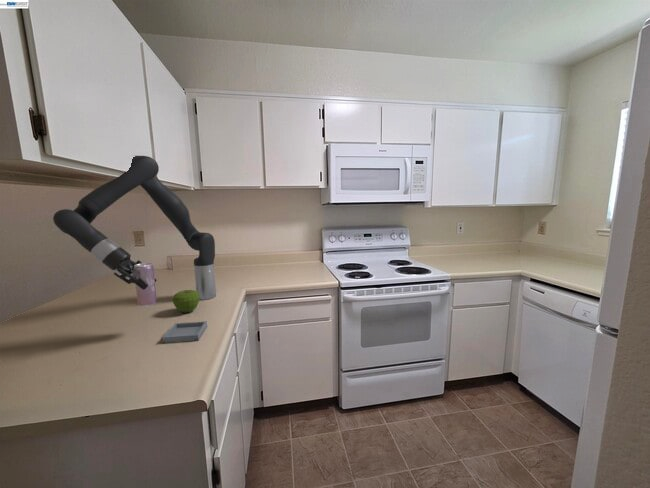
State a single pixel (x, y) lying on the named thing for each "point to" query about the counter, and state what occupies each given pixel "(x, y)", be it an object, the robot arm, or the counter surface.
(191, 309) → the apple
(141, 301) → the beverage can
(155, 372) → the counter surface
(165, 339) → the tray
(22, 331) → the counter surface
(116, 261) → the robot arm
